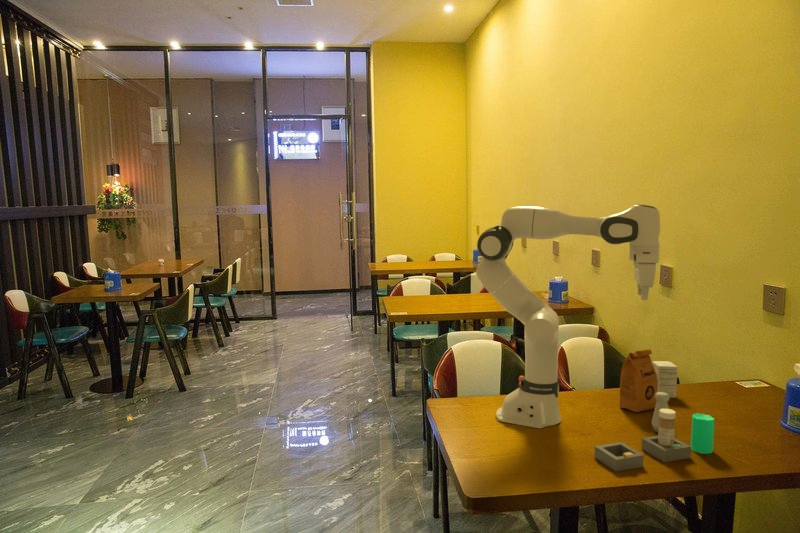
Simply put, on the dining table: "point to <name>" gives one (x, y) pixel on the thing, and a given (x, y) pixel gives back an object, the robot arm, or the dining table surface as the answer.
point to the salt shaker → (660, 404)
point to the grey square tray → (666, 449)
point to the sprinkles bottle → (666, 427)
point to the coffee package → (638, 382)
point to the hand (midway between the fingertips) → (642, 297)
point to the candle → (702, 433)
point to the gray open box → (626, 456)
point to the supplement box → (666, 377)
